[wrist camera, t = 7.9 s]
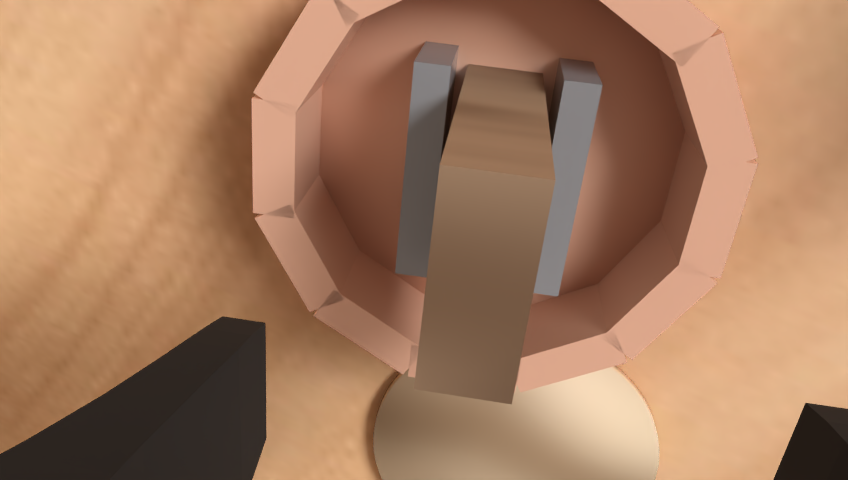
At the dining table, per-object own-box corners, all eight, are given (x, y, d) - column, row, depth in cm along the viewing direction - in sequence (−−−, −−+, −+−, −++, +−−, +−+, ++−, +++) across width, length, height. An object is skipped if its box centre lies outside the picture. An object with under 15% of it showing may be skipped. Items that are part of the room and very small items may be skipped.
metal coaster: (622, 565, 25) (623, 575, 25) (367, 523, 26) (365, 532, 25) (690, 354, 21) (693, 362, 21) (385, 309, 22) (383, 316, 21)
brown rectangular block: (514, 236, 19) (511, 404, 13) (447, 227, 19) (413, 389, 13) (542, 73, 17) (555, 180, 11) (468, 64, 17) (440, 164, 11)
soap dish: (658, 352, 21) (678, 421, 18) (283, 297, 22) (251, 355, 19) (780, -60, 16) (832, -48, 13) (288, -114, 17) (243, -113, 14)
